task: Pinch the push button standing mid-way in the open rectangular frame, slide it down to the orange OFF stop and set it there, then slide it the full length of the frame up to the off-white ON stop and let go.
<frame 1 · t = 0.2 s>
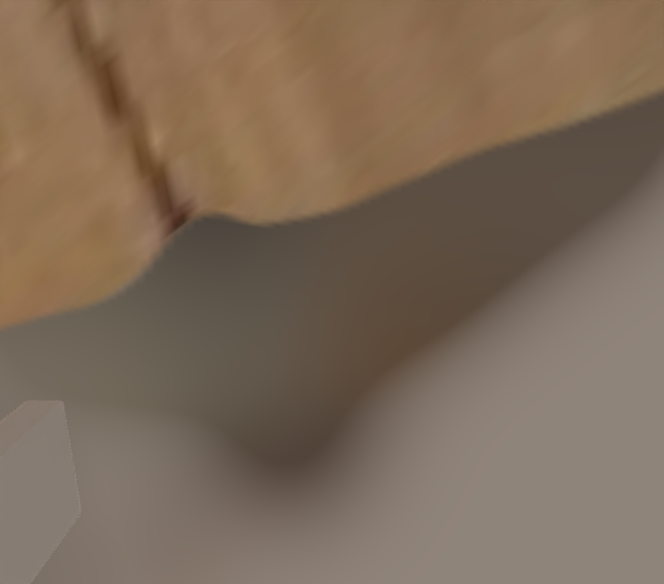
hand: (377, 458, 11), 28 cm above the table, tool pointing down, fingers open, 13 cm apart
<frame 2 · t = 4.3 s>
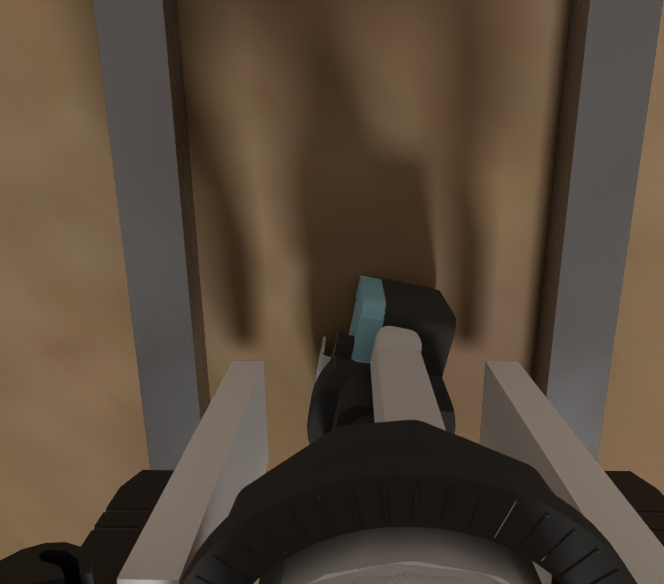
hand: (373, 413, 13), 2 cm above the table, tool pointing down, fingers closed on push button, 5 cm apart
open rectangular frame: (369, 347, 14), on the table
push button: (368, 378, 15), on the table, touching gripper
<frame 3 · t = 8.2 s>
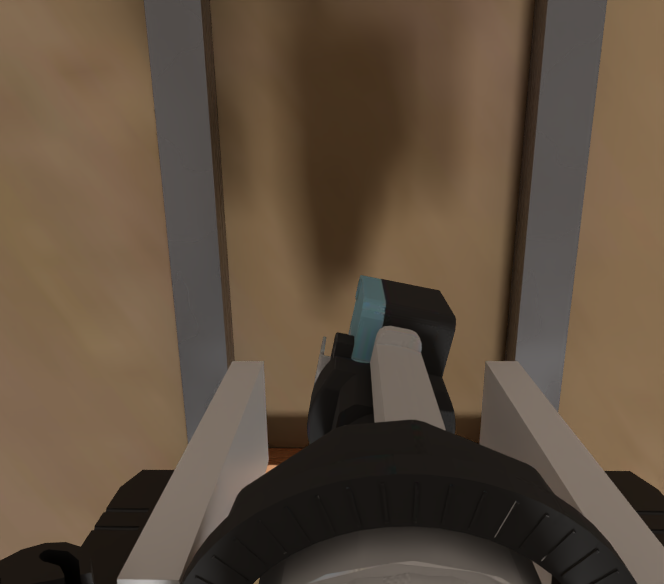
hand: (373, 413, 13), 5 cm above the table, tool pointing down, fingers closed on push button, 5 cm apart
open rectangular frame: (370, 63, 15), on the table
push button: (368, 378, 15), point 3 cm above the table, touching gripper
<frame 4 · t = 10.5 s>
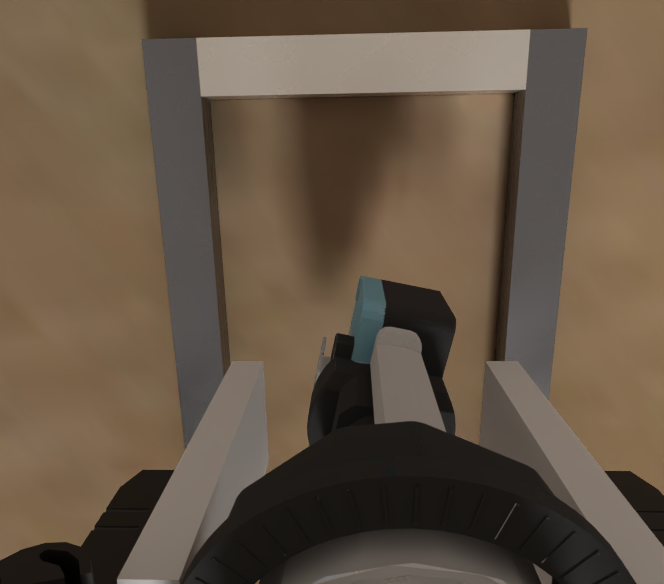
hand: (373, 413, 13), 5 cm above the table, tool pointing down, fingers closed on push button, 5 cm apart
open rectangular frame: (361, 465, 19), on the table
push button: (368, 378, 15), point 3 cm above the table, touching gripper
when the fingers open (2 cm above the table, at t = 12.3 s): push button stays where it is, on the table.
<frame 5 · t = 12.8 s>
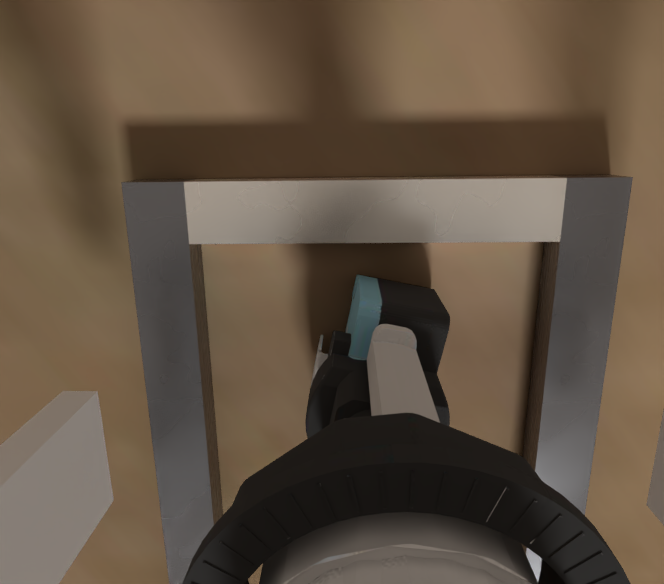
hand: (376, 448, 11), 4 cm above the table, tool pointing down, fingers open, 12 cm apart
push button: (365, 375, 15), on the table
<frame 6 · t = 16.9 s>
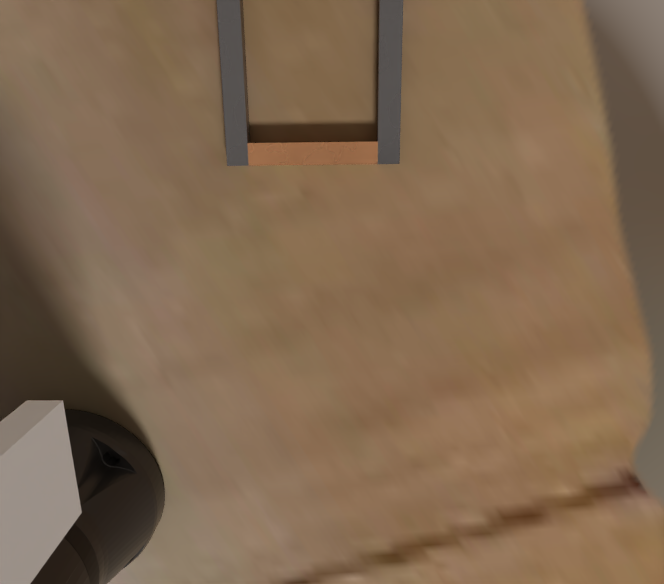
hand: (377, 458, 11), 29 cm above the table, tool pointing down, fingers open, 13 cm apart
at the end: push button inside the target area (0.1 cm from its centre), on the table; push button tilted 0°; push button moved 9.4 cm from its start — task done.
